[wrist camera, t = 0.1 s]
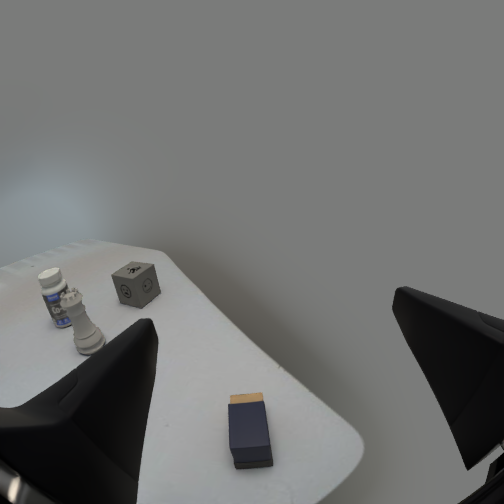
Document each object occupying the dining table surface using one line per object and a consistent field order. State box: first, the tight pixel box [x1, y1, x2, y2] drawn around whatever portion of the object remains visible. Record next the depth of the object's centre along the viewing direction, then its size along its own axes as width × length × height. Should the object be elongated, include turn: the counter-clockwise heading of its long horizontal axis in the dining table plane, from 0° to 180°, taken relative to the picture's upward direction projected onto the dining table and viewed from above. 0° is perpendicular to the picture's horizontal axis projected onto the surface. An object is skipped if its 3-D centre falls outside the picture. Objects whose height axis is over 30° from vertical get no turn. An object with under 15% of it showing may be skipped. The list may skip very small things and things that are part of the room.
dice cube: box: [111, 262, 161, 308], centre depth 40 cm, size 5×5×5 cm
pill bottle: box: [38, 268, 72, 328], centre depth 33 cm, size 5×5×8 cm
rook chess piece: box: [60, 288, 105, 355], centre depth 28 cm, size 4×4×8 cm
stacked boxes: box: [228, 393, 273, 469], centre depth 17 cm, size 6×3×4 cm, turn 4°
